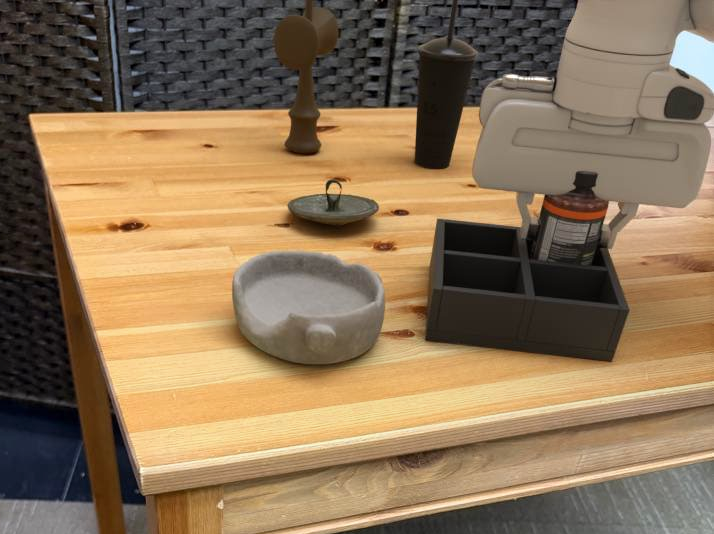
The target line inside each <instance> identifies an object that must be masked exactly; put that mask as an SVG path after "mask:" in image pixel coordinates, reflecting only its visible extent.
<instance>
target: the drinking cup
mask: <svg viewBox="0 0 714 534" xmlns="http://www.w3.org/2000/svg"><path fill="white" fill-rule="evenodd" d="M458 3H459V0H452V3H451V9H450V17H449V22H448V30H447V37H439V38H435V39H432V40H429V41H428V42H426V43H424V44H421V45H419V46H418V47H417V53H418V54H419V56H418V79H417V81H418V82H417V98H416V99H417V100H416V101H417V102H416V118H415V119H416V122H415V123H416V124H415V142H414V144H415V145H414V163H415V164H416V165H417V166H419V167H421V168H426V169H432V170H433V169H434V170H435V169H436V170H439V169H440V170H441V169H446V168H448V167H449V166H450V164H451V160H452V156H453V151H454V147H455V143H456V139H457V135H458V131H459V127H460V124H461V118H462V115H463V110H464V108H465V107H464V106H465V103H466V99H467V94H468V90H469V86H470V82H471V79H472V78H471V77H472V73H473V69H474V67H475V66H474V65H475V61H476V60H477V59H478V58H479V51H478V50H476V49H474V48H473V47H472V46H471V45H469V44H468V43H466V42H464V41H463V40H461V39H457V38H454V32H455V24H456V19H457V11H458V6H459V4H458Z"/></svg>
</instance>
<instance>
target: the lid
mask: <svg viewBox="0 0 714 534" xmlns="http://www.w3.org/2000/svg"><path fill="white" fill-rule="evenodd" d="M332 184H336V185H338V187H339V190H340V191H339V193H328V190H329V189H330V186H331V185H332ZM342 188H343V185H342V184H341V183H340V181H338V180H337V179H334V178H333V179H328V180H327V181H326V183H325V193H316V194H315V193H314V194H310V195H309V194H308V195H302V196H298V197H296V198H293V199H292V200H290V201H289V202H288V204H286V205H287V209H288V211H289V212H290V213H291V214H293V215H294V216H296V217H298V218H302V219H304V220H307V221H311V222H315V223H320V224H325V225H330V226H337V227H338V226H343V225H346V224H349V223H354V222H357V221H360V220H363V219H366V218H369V217H372V216H373V215H375V214H376V213H378V212H379V210H380V206H379V203H378V202H376V201H375V200H374V199H371V198H368V197H363V196H359V195H354V194H344V193H342V190H343V189H342Z"/></svg>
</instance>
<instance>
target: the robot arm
mask: <svg viewBox="0 0 714 534" xmlns="http://www.w3.org/2000/svg"><path fill="white" fill-rule="evenodd" d="M684 31H686V32H688V33H690V34H692V35H695V36H698V37H700V38H702V39H705V40H706V41H708V42H710V43H713V44H714V0H578V1H577V4H576V8H575V11H574V15H573V16H572V19H571V21H570V23H569V25H568V26H567V29H566V32H565V36H564V39H563V44H562V47H561V48H562V49H561V53H560V57H559V62H558V66H557V70H556V76H554V77H553V76H540V75H534V76H533V75H532V76H526V75H525V76H524V75H519V74H516V73H504V74H503V75H502V77H501V78H496V79H494V80H492V81H490V83H488V84H487V85H486V87H484V89H483V92H482V95H481V98H480V104H479V109H478V120H479V123H480V125H481V127H482V129H481V131H480V134H479V138H478V140H477V145H476V148H475V151H474V157H473V161H472V166H471V175H472V179H473V181H474V183H475V184H476V186H477V187H478V188H480V189H485V190H493V191H495V190H496V191H505V192H516V194H515V201H516V204H517V208H518V211H519V214H520V217H521V225H520V227H521V229H520V240H531V241H536V238H537V232H538V229H539V225H540V223H539V216H538V217H536V216H531V215H530V211H529V208H528V206H532V204H533V201H534V198H535V195H543V196H544V195H553V196H556V195H561V194H565V193H567V192H569V191H571V190H573V189H575V188H576V187H575V185H573V182H574V180H575V175H576V172H577V171H587V172H595V173H598V177H597V180H596V186H595V187H592V190H593V191H594V194H595V195H596V196H597V197H599V198H601V199H603V200H605V201H609V202H613V203H617V207H618V209H619V212H618V213H616V215H615V216H614V217H613V218H612V219H611V220H610V221H609V223H608V224H607V223H606V224H605V223H603V226H602V230H601V233H600V237H599V240H598V244H597V247H596V248H605V249H608V250H612V249H613V248H614V247H615V246H614V245H615V242H616V239H617V235H618V233H620V232H621V231H622V230H623V229H624V228H625V227H626V226H627V225H628V224H629V223H630V222H631V221H632V220H633V219H634V218H635V217H636V216H637V213H638V209H639V206H640V205H644V206H652V207H653V206H654V207H662V208H663V207H664V208H671V209H672V208H673V209H685V208H687V206H689V205H691V203H692V202H694V201H695V200H696V199H697V198H698V195H699V192H700V191H701V188H702V184H703V180H704V177H705V175H706V174H705V173H706V170H707V166H708V162H709V159H710V154H711V153H710V152H711V147H712V136H711V131H710V129H709V128H708V127H707V125H706V123H708V122H709V121H710V120H712V118H713V117H714V91H713V90H712V89H711V88H710V87H709V86H708V85H707V84H705V82H704V81H702V80H700V79H699V78H698V77H696V76H694V75H692V74H689V73H688V72H686V71H685V70H683V69H681V68H679V67H675V66H673V65H671V60H672V58H673V54H674V50H675V47H676V41H677V38H678V36H680V34H681V33H682V32H684ZM497 85H501V86H497Z"/></svg>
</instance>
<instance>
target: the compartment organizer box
mask: <svg viewBox="0 0 714 534" xmlns="http://www.w3.org/2000/svg"><path fill="white" fill-rule="evenodd" d="M520 229H521V226H516V225H515V226H514V225H505V224H495V223H486V222H485V223H484V222H475V221H467V220H458V219H457V220H456V219H447V218H445V219H444V218H436V222H435V230H434V236H433V242H432V249H431V253H430V254H431V255H430V262H429V270H428V271H429V272H428V286H427V287H428V289H427V304H426V319H425V320H426V321H425V334H424V335H425V337H424V340H425V341H428V342H429V341H430V342H437V343H446V344H456V345H463V346H471V347H472V346H473V347H481V348H490V349H499V350H506V351H515V350H516V351H517V352H525V353H534V354H543V355H551V356H560V357H561V356H562V357H569V358H577V359H586V360H587V359H588V360H595V361H604V362H613V360H614V357H615V355H616V351H617V348H618V345H619V343H620V339H621V337H622V334H623V332H624V331H623V330H624V328H625V325H626V322H627V319H628V316H629V313H630V307H629V304H628V301H627V299H626V296H625V293H624V290H623V286H622V284H621V282H620V279H619V276H618V273H617V271H616V270H617V269H616V268H615V265H614V262H613V259H612V256H611V254H610V249H605V248H596V250H595V254H594V257H593V261H592V264H591V266H590V265H580V264H571V263H562V262H552V261H543V260H534V259H529V258H530V254H531V250H532V246H533V242H534V241H531V240H520ZM516 351H515V352H516Z"/></svg>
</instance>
